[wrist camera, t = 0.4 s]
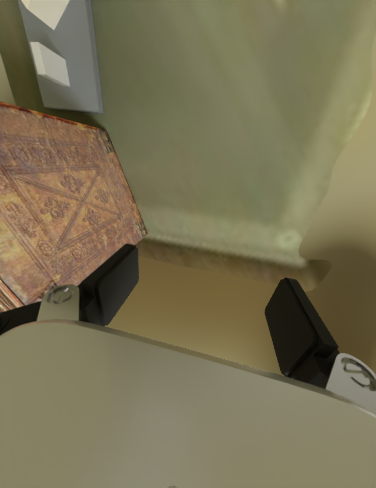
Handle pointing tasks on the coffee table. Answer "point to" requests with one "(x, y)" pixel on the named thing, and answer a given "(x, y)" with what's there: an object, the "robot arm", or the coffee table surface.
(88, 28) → the grey flat piece
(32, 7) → the collar
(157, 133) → the coffee table surface
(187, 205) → the coffee table surface
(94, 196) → the book
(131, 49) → the coffee table surface
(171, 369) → the robot arm
